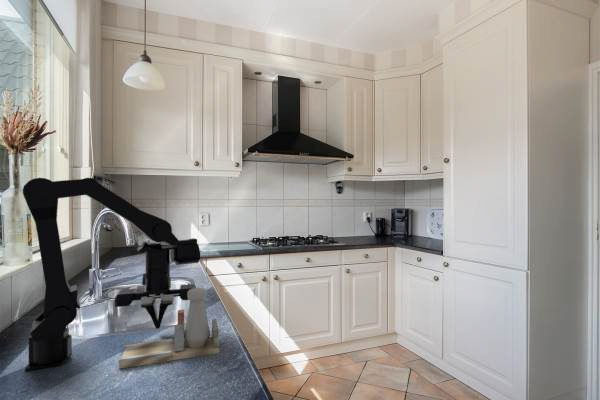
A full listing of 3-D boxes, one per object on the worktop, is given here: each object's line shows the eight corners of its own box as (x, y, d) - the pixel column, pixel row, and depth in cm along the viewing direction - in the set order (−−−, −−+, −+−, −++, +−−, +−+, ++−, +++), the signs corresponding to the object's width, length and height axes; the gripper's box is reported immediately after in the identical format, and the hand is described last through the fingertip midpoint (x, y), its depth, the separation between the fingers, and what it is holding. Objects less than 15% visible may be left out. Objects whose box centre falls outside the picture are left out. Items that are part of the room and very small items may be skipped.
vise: (118, 368, 65) (118, 342, 65) (125, 353, 72) (125, 329, 72) (218, 352, 72) (218, 329, 72) (216, 339, 79) (216, 318, 79)
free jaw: (174, 353, 70) (173, 333, 70) (177, 326, 85) (177, 310, 85) (183, 351, 71) (183, 331, 71) (185, 325, 85) (185, 309, 85)
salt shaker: (195, 352, 70) (195, 293, 70) (178, 346, 73) (178, 290, 73) (215, 342, 75) (214, 287, 75) (198, 337, 78) (197, 284, 78)
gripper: (195, 260, 93) (195, 313, 93) (123, 264, 87) (123, 321, 87) (195, 267, 82) (196, 327, 82) (114, 272, 76) (114, 337, 76)
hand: (157, 328), depth 82 cm, fingers closed
